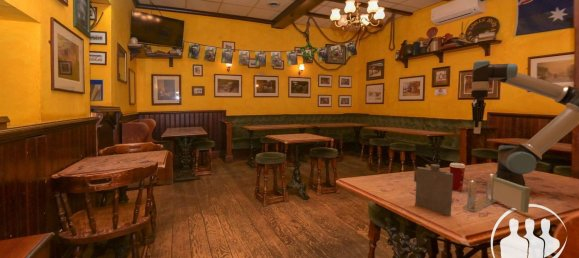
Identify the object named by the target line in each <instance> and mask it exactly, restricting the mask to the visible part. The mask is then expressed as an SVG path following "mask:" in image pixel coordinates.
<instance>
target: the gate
mask: <svg viewBox="0 0 579 258" xmlns="http://www.w3.org/2000/svg"><path fill="white" fill-rule="evenodd" d="M493 181H494V186H493V199H494V200H497V202H499V203H501V204H504V205H506V206H508V207H509V208H513V209H515V210H517V211H518V212H519V211H520V212H522V213H526V214H527V213H529V208H530V205H529V204H530V193H531V187H528V186H525V187H524V186H521V185H518V184H515V183H512V182H509V181H506V180H503V179H500V178H493Z"/></svg>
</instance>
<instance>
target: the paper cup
mask: <svg viewBox="0 0 579 258" xmlns="http://www.w3.org/2000/svg"><path fill="white" fill-rule="evenodd" d="M465 171H466V165H465V163H459V162H450V164H449V173H452V174H453V185H452V191H457V192H458V191H459V192H461V191H463V185H464V179H465Z"/></svg>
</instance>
